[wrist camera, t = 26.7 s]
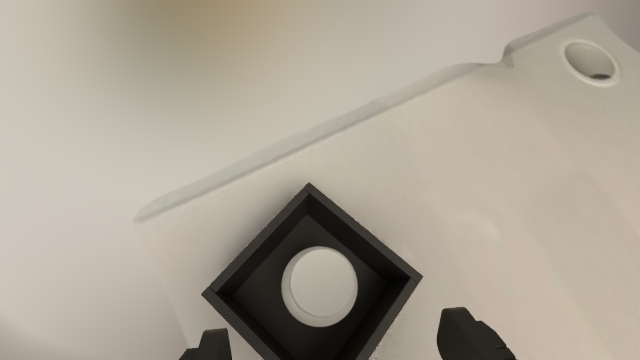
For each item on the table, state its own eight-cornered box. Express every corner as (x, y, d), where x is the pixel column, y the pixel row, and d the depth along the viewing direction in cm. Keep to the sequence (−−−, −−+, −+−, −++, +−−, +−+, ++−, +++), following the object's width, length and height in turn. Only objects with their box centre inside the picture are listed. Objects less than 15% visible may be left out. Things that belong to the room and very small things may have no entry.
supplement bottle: (354, 279, 27) (382, 266, 19) (325, 335, 25) (340, 351, 17) (305, 248, 28) (309, 222, 19) (272, 300, 26) (261, 297, 17)
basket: (318, 394, 24) (326, 423, 18) (222, 296, 26) (200, 294, 21) (396, 282, 28) (423, 276, 22) (306, 206, 30) (308, 181, 24)
